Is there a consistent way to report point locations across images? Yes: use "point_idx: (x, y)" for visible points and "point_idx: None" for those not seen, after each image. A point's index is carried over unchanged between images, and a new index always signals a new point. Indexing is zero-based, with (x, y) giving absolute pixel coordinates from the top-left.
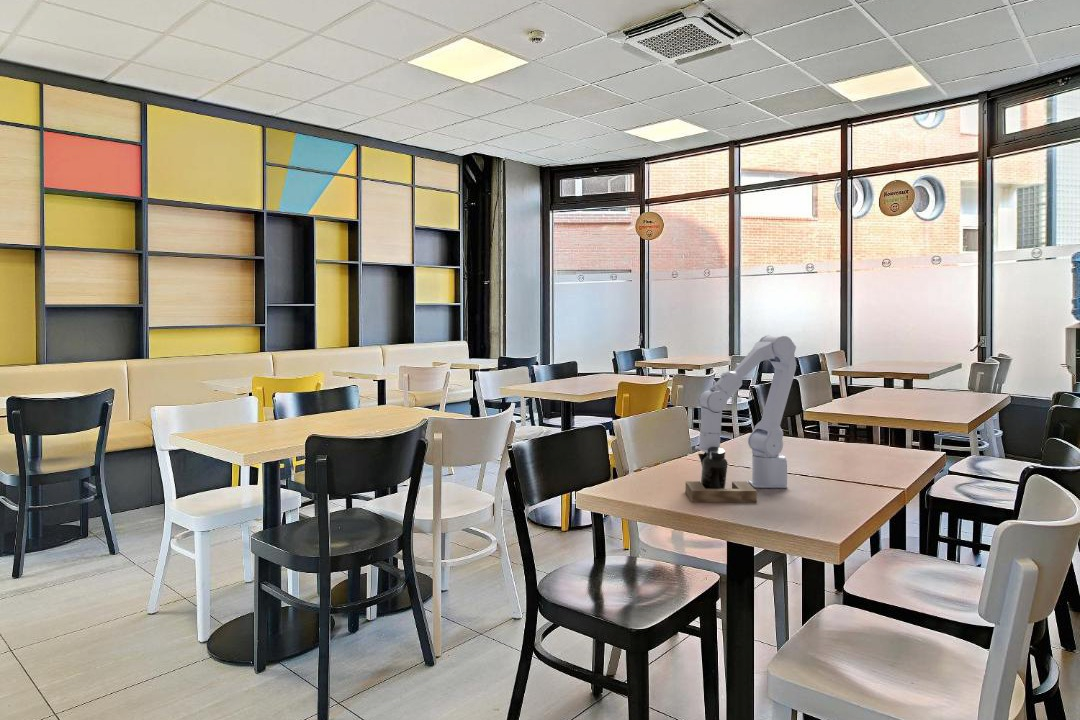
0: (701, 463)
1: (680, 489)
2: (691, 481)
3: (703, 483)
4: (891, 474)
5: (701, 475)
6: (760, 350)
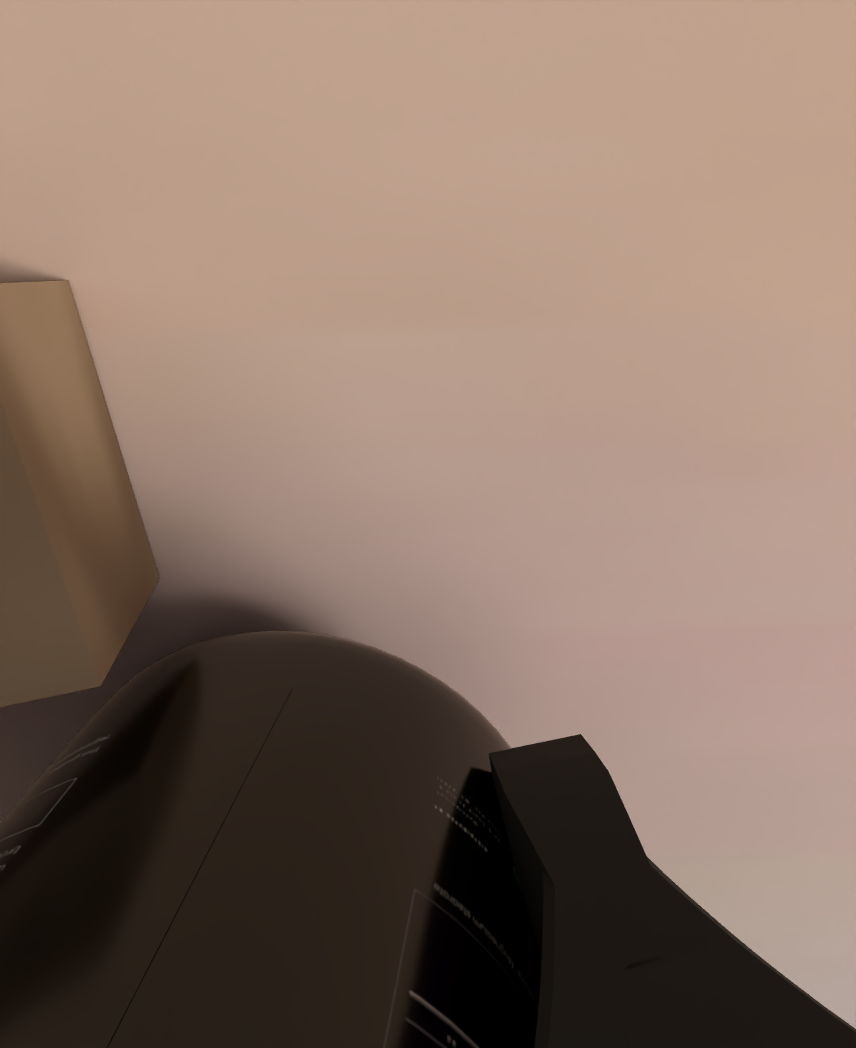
0: (782, 1038)
1: (295, 152)
2: (8, 471)
3: (73, 751)
4: None
5: (163, 815)
6: None
